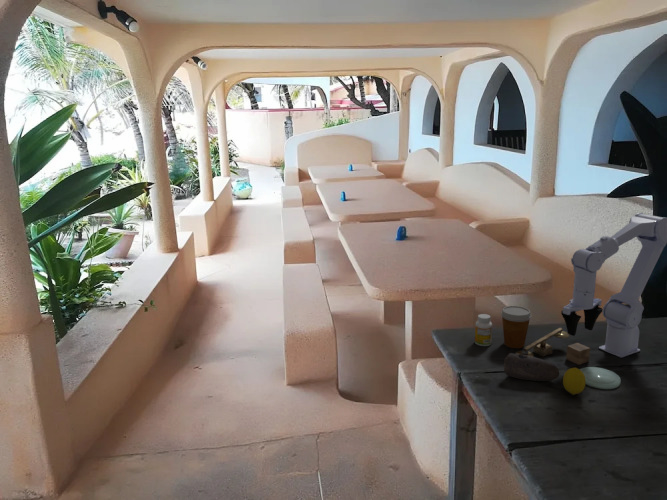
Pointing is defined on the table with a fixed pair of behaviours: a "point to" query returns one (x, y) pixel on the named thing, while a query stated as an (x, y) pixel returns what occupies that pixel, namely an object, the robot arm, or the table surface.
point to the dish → (601, 378)
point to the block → (578, 353)
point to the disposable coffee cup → (515, 325)
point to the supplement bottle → (483, 330)
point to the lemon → (574, 381)
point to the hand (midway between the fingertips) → (580, 331)
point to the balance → (543, 344)
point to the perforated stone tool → (529, 368)
